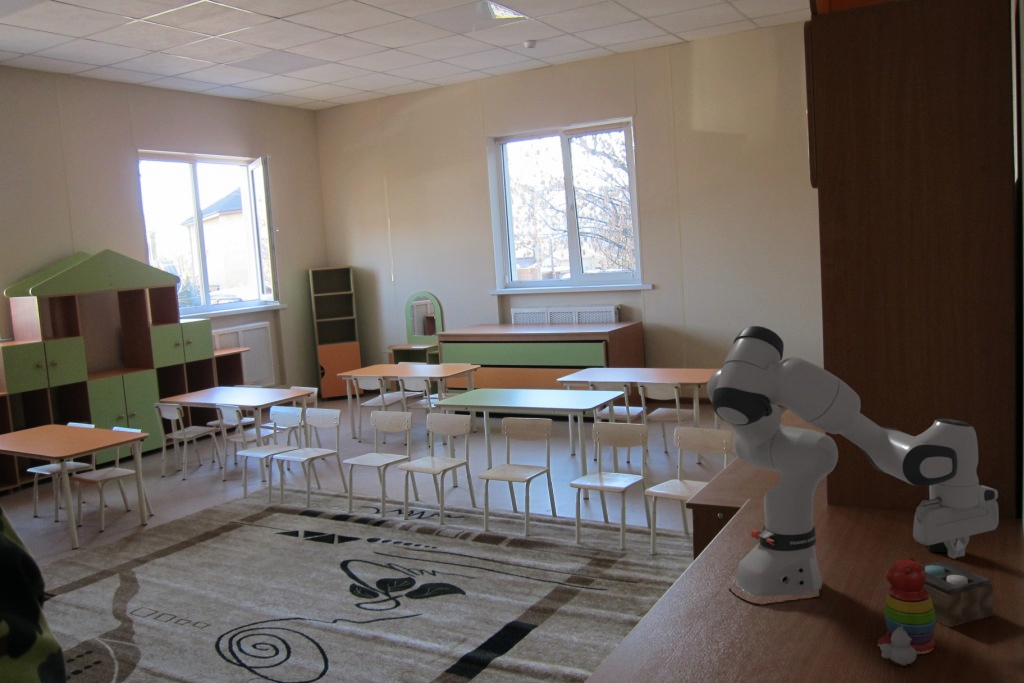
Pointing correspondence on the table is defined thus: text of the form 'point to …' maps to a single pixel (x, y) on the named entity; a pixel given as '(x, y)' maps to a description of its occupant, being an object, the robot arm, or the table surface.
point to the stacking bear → (909, 605)
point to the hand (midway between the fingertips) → (956, 556)
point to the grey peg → (957, 579)
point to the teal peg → (934, 570)
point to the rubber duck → (899, 647)
